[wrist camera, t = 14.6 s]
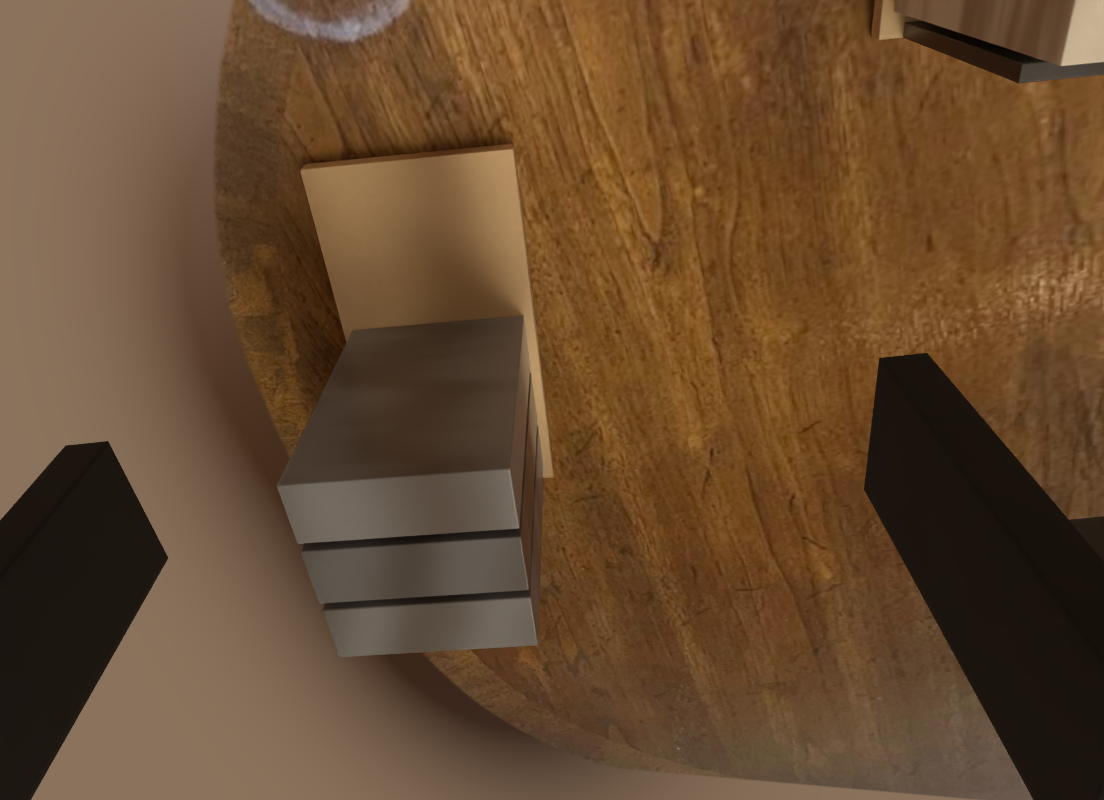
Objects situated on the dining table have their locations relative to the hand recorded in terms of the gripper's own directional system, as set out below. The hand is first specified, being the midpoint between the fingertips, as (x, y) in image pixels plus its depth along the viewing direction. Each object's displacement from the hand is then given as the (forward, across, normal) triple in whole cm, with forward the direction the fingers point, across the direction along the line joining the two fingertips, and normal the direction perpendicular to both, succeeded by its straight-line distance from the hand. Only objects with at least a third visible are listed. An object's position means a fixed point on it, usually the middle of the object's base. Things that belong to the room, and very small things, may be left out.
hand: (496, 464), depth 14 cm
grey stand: (+27, -6, -11) cm, 29 cm away
